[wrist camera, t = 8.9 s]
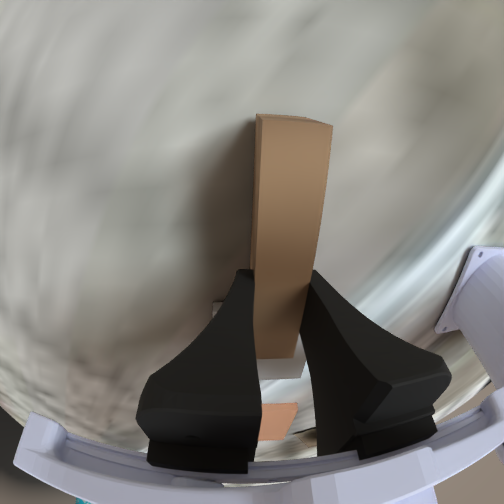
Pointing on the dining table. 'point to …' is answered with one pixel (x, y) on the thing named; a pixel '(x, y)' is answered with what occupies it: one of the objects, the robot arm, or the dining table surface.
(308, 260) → the tall wooden plank
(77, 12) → the dining table surface
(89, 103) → the dining table surface
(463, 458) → the robot arm
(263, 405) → the tile
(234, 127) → the dining table surface
